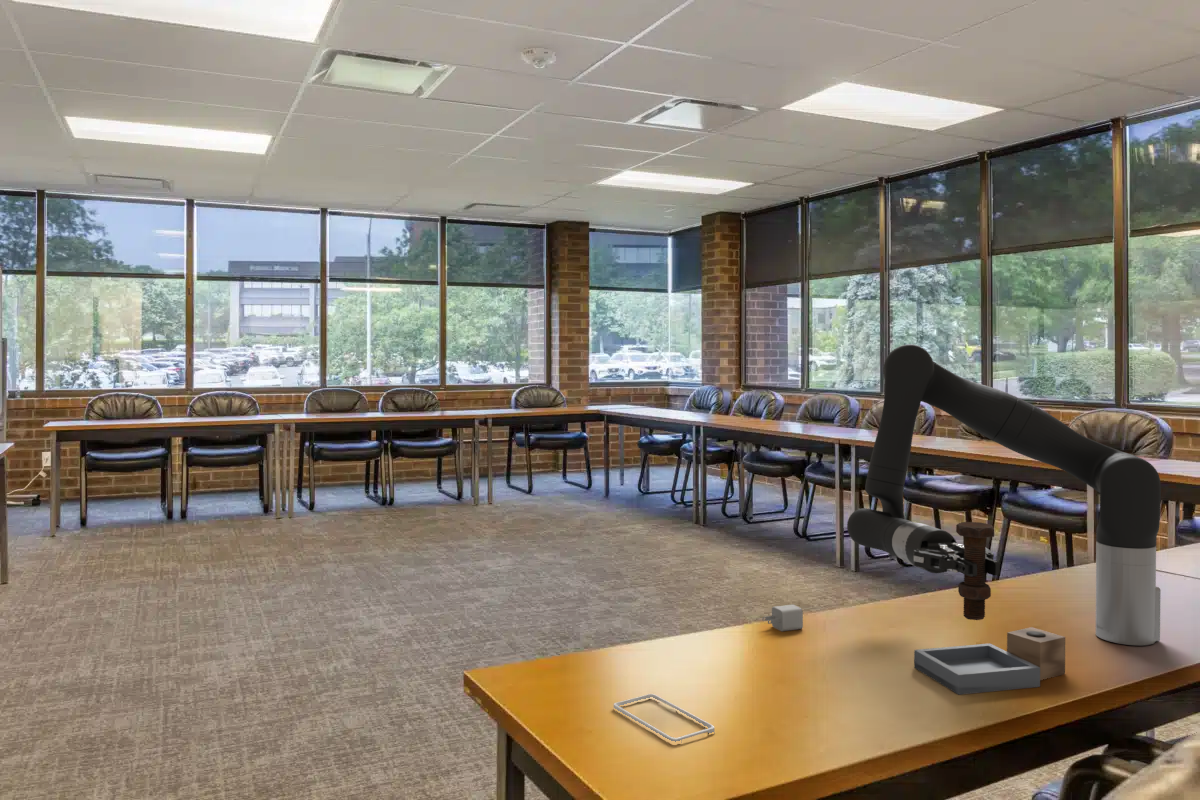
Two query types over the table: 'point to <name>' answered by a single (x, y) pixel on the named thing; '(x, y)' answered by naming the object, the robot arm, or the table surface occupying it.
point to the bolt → (975, 552)
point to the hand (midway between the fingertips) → (986, 569)
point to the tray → (976, 668)
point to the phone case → (616, 706)
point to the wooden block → (1039, 650)
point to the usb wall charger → (786, 617)
